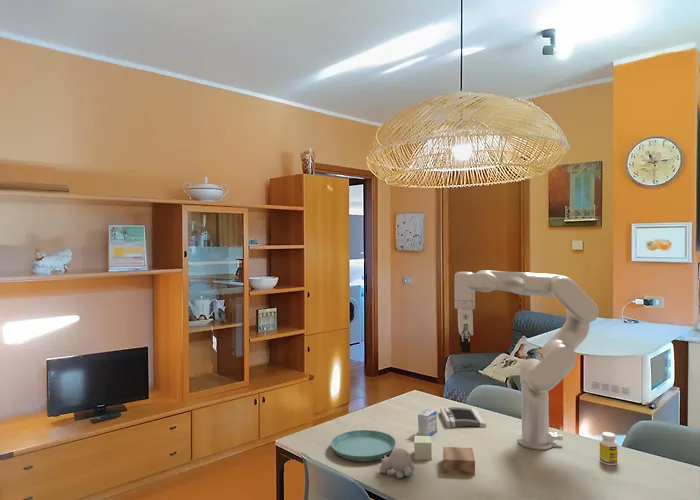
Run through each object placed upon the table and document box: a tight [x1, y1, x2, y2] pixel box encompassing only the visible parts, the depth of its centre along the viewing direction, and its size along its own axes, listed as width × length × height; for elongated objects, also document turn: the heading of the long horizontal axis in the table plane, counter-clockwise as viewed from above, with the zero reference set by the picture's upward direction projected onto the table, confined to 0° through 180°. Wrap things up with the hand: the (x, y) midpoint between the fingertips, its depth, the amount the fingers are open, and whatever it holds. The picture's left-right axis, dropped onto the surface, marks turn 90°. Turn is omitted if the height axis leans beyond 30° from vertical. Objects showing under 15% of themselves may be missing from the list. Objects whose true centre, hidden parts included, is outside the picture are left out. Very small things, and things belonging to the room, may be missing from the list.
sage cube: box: [413, 435, 433, 461], centre depth 179 cm, size 6×6×6 cm
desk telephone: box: [439, 406, 487, 429], centre depth 212 cm, size 17×5×16 cm
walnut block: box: [442, 446, 476, 476], centre depth 169 cm, size 10×10×5 cm
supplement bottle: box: [599, 431, 618, 466], centre depth 170 cm, size 5×5×10 cm
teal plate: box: [330, 429, 397, 463], centre depth 185 cm, size 24×24×3 cm
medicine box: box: [417, 408, 438, 437], centre depth 198 cm, size 8×4×9 cm, turn 143°
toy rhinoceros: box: [377, 448, 416, 479], centre depth 166 cm, size 7×12×8 cm, turn 65°
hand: (464, 349), depth 189 cm, fingers open, 9 cm apart
